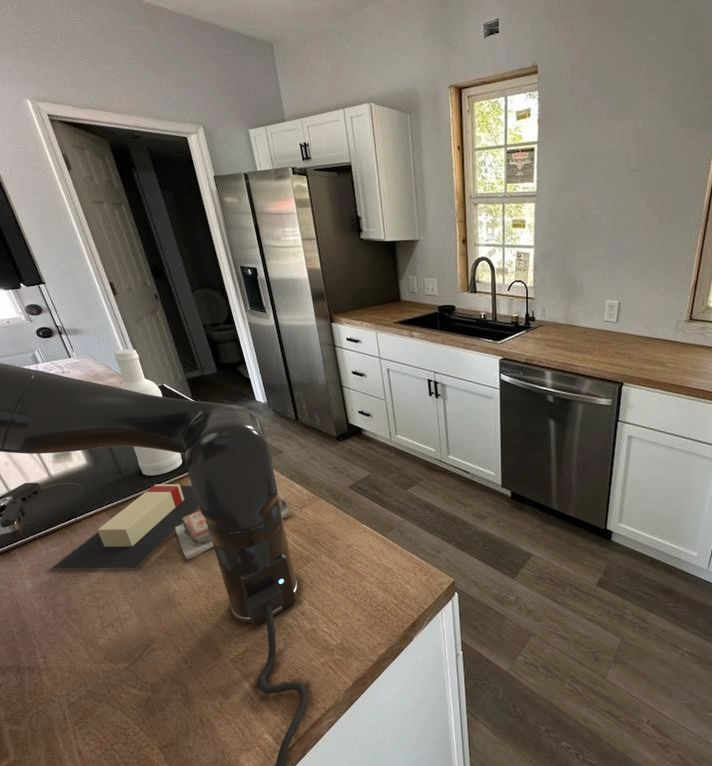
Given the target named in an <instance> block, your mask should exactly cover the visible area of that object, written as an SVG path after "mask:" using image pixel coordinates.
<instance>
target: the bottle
mask: <svg viewBox="0 0 712 766" xmlns="http://www.w3.org/2000/svg"><path fill="white" fill-rule="evenodd" d="M113 354H114V359H115V362H117V365H118V368H119V371H120V374H121V377H122V380H123V382H122V383H121V385H119V387H118V388H122V389H126V390H130V391H134V392H139V393H143V394H148V395H154V396H159V397H163V394H162V391H161V389H160V388H159V386H158V385H157V384H156V383H155V382H154V381H152V380H150V379H147V378H145V375H144V372H143V368H142V365H141V363H140V356H139V353H137V350H136V349H133V348H126V349H125V348H124V349H120V350H116V351H115V352H114V353H113ZM133 451H134V452H135V455H136V459H137V462H138V463H137V464H138V466H139V468H140V470H141V473H142V474H143V475H145V476H159V475H164V474H167V473H169V472H172V471H174V470H176V469H178V468H179V467H180V466H181V465H182V463H183V459H182V455H181V453H176V452H171V451H165V450H159V449H152V448H143V447H133Z"/></svg>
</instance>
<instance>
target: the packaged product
mask: <svg viewBox="0 0 712 766" xmlns="http://www.w3.org/2000/svg"><path fill="white" fill-rule="evenodd" d="M277 491H278V492H277V494H278V499H279V504H280V508H281V513H282V518H283V519H284V518H286V517H289V516H291V514H292V512H291V511H290V510H289V508H288V507H287V502H286V499H285V498H284V495H283V494H282V493H281V492H280V491H279V490H278V489H277ZM182 522H183V523H181V524H180V525H179V526H177V527H175V530H174V531H175V533H176V536H177V537H178V541H179V545H180V548H181V551H182V553H183V555H184V557H185V558H186V560H190V559H192V558H194V557H196V556H198V555H201V554H202V553H204V552H206V551H208V550H209V549H212V548H214V546H213V543H212V539H211V536H210V532H209V529H208V526H207V523H206V520H205V518H204V516H203V515H202V513H201V511H200V510H199V511H196V512H195V511H194V512H193V513H192V514H190V515H187V516H185V517H184V518H183V519H182Z"/></svg>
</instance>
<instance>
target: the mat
mask: <svg viewBox="0 0 712 766" xmlns="http://www.w3.org/2000/svg"><path fill="white" fill-rule="evenodd" d="M180 487H181V490H182V494H183V497H184V500H183V501H182V503H181V504H179V505H178V506H177V507H176V508H174V509H173V510H172V511H171V512H170V513H169V514H168V515H167V516H165V517H164V518H163V519H162V520H161V521H160V522H159V523H158V524H157V525H155V526H154V527H153V528H152V529H151V530H150V531H149V532H148V533H147V534H145V535H144V536H143V537H142V538H141V539H140V540H139V541H138V542H137V543H135V544H134V545H133V546H126V547H105V546H104V544H103V542H102V540H101V537H100V535H99V533H98V532H96V533H95V534H94V535H93V536H91V537H90V538H89V539H87V540H86V541H85V542H83V544H81V545H80V546H79V547H77V548H76V549H75V550H74V551H72V552H71V553H70V554H68V555H67V556H66V557H64V558H63V559H62V560H60V561H59V562H58V563H57V564H55V565H54V566H53V567H52V569H104V568H105V569H106V568H107V569H108V568H109V569H111V568H112V569H113V568H114V569H115V568H118V569H120V568H123V569H124V568H137V567H138V566H139V565H140V564H141V563H142V562H143V561H144V560H145V559H146V558H148V556H149V555H150V554H152V553H153V552H154V550H156V549H158V547H159V546H160V545H161V544H162V543H164V541H165V540H166V539H168V538H169V536H170V535H171V534H172V533H173V532H174V531H176V530H175V527H177V526H179V525H182V524H183V522H182V519H183V518H184V517H185V516H187V515H190V514H193V513H195V511H197V509H198V508H199V505H198V502H197V499H196V496H195V493H194V490H193V487H192V485H184V486H183V485H180Z"/></svg>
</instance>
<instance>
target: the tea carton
mask: <svg viewBox="0 0 712 766" xmlns="http://www.w3.org/2000/svg"><path fill="white" fill-rule="evenodd" d="M180 486H181V485H180V484H179V483H178V484H177V483H175V484H168V483H167V484H166V483H165V484H163V483H162V484H161V483H159V484H158V483H157V484H154V485H152V486H151V487H149V488H148V489H147V490H146V491H145V492H144V493H143V494H141V495H140V496H139V497H137V498H136V499H135V500H134V501H132V502H130V503H129V505H127V506H126V507H125V508H124V509H122V510H121V511H119V512H118V513H117V514H116V515H114V516H113V517H112V518H110V519H109V520H108V521H106V522H105V523H104V524H103V525H101V526H100V527H99V528H98V529H97V533H99V535H100V537H101V540H102V542H103V544H104V546H105V547H126V546H133V545H134V544H135V543H137V542H138V541H139V540H140V539H141V538H142V537H143V536H144V535H145V534H147V533H148V532H149V531H150V530H151V529H152V528H153V527H154V526H155V525H157V524H158V523H159V522H160V521H161V520H162V519H163V518H164V517H165V516H167V515H168V514H169V513H170V512H171V511H172V510H173V509H174V508H176V507H177V506H178V505H179V504H181V503H182V501H183V500H184V497H183V494H182V490H181V487H180Z"/></svg>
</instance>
